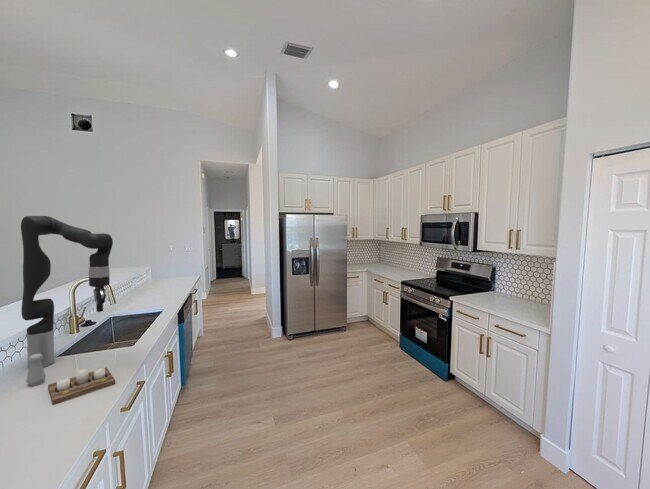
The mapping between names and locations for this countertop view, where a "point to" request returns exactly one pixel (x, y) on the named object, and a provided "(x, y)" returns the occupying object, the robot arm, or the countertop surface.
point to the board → (80, 387)
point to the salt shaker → (35, 370)
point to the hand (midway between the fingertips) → (99, 311)
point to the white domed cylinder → (63, 384)
